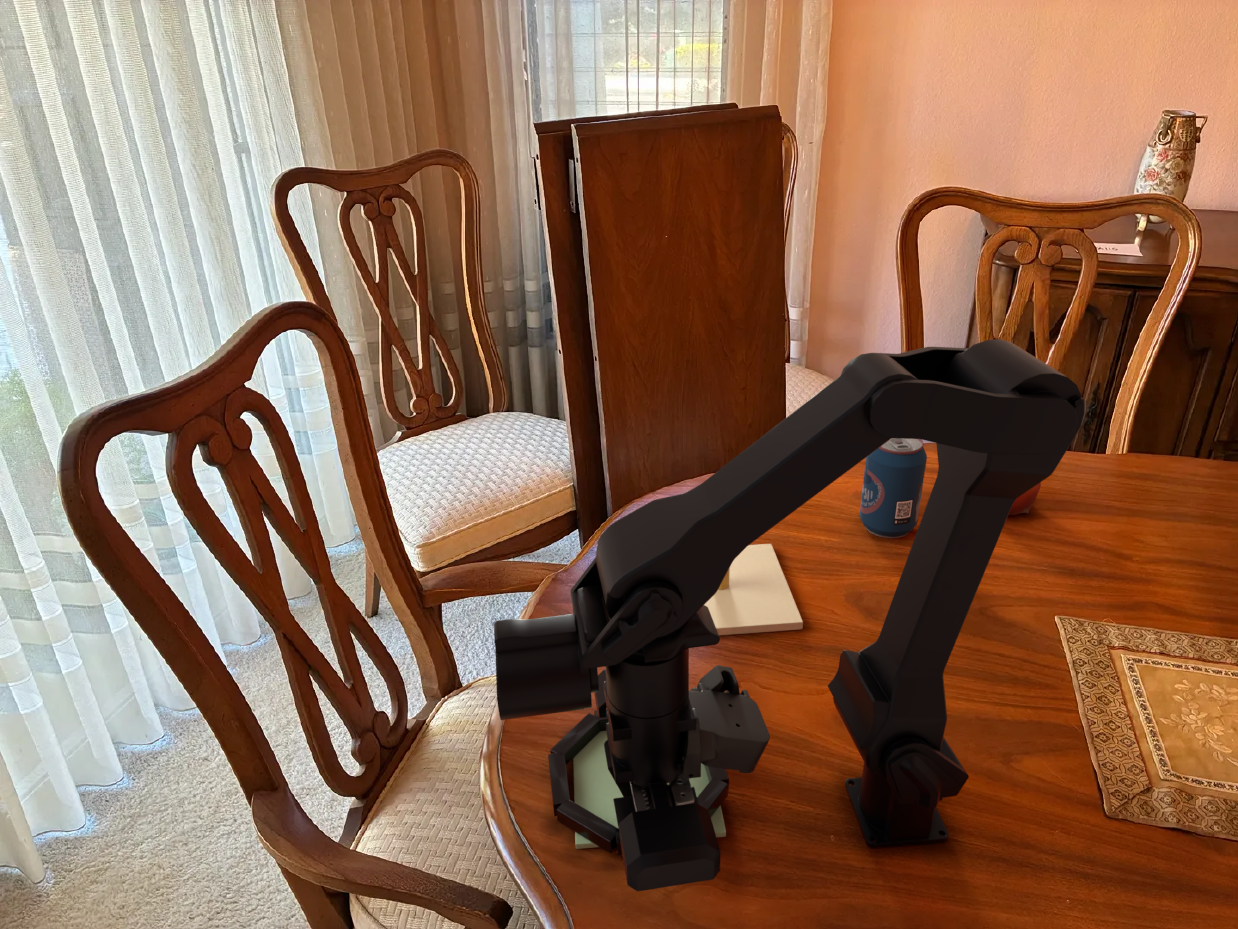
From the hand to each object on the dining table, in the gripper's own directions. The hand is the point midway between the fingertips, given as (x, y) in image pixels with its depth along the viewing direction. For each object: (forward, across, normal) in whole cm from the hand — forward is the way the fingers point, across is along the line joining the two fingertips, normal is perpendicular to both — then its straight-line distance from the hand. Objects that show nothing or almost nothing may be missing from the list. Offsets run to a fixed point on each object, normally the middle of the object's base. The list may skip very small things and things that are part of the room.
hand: (652, 840), depth 67 cm
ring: (0, +7, 0) cm, 7 cm away
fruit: (+1, +42, -54) cm, 68 cm away
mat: (+1, +7, 0) cm, 7 cm away
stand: (+1, +32, -14) cm, 34 cm away
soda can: (+1, +41, -37) cm, 55 cm away
